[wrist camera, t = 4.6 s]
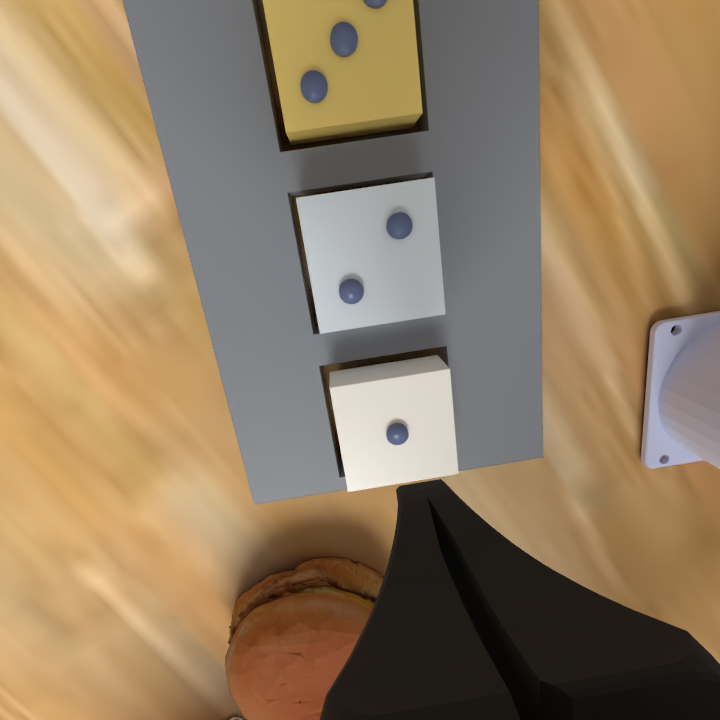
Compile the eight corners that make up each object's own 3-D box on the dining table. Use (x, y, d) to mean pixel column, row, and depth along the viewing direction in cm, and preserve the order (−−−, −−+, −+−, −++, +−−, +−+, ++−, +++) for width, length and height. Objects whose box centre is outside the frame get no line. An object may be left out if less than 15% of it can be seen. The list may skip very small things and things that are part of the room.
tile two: (422, 184, 16) (436, 176, 14) (432, 305, 17) (447, 315, 15) (300, 202, 16) (295, 197, 14) (321, 323, 17) (319, 335, 15)
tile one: (437, 354, 18) (451, 370, 16) (446, 450, 19) (459, 476, 17) (329, 371, 18) (329, 389, 16) (346, 466, 19) (348, 494, 17)
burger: (203, 629, 23) (174, 722, 19) (304, 521, 22) (297, 594, 17) (335, 698, 26) (336, 794, 21) (434, 605, 24) (458, 688, 20)
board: (516, -67, 15) (537, -102, 13) (527, 441, 21) (542, 457, 20) (134, -15, 15) (111, -45, 13) (260, 484, 21) (254, 504, 19)
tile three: (398, -21, 15) (409, -65, 12) (411, 127, 16) (424, 111, 14) (265, -3, 14) (254, -44, 12) (291, 145, 16) (285, 130, 14)
